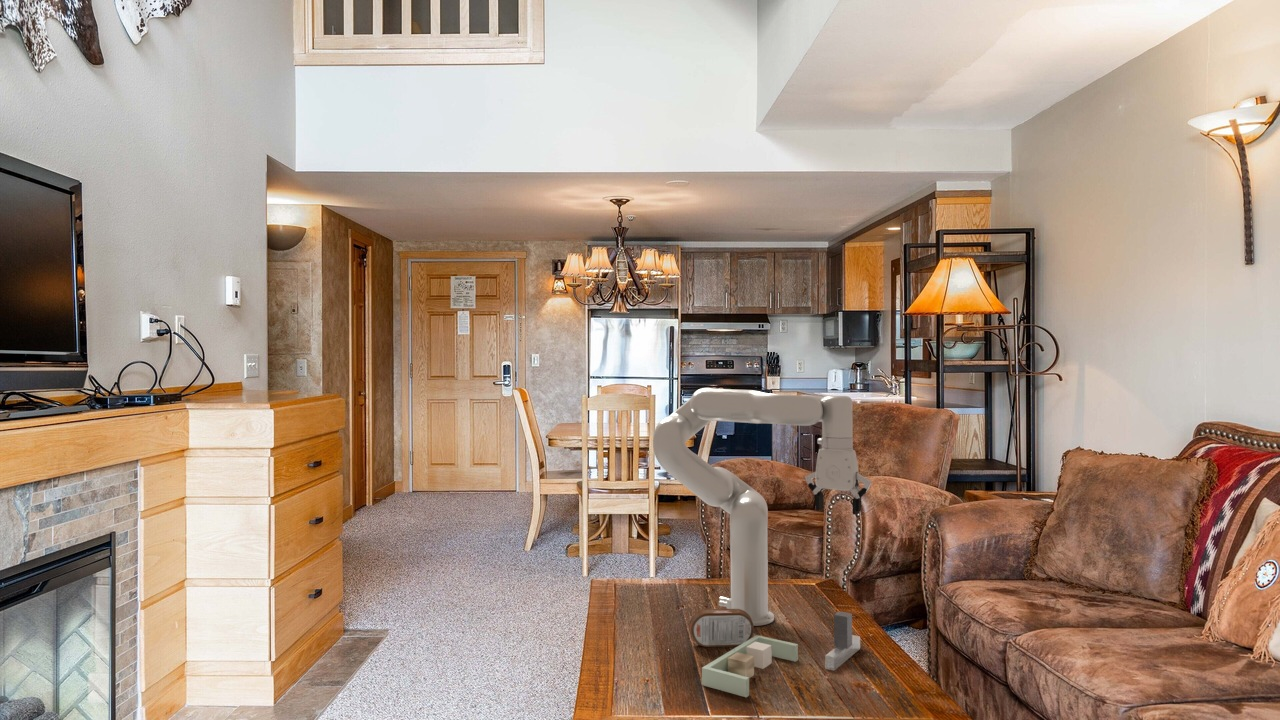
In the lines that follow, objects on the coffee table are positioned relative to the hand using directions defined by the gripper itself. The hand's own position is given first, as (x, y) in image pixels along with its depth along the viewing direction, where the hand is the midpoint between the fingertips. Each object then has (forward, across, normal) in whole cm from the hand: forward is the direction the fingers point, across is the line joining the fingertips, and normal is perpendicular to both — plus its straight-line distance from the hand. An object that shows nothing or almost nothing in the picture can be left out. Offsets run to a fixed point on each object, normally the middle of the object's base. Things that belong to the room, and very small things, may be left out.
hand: (837, 511), depth 196 cm
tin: (+29, -16, -31) cm, 45 cm away
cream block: (+28, -4, -36) cm, 46 cm away
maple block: (+28, -4, -44) cm, 52 cm away
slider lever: (+28, +10, -22) cm, 37 cm away
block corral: (+28, -2, -41) cm, 50 cm away
